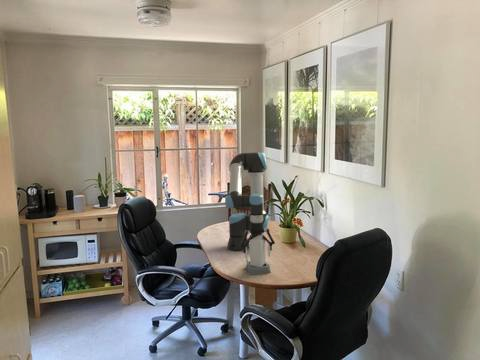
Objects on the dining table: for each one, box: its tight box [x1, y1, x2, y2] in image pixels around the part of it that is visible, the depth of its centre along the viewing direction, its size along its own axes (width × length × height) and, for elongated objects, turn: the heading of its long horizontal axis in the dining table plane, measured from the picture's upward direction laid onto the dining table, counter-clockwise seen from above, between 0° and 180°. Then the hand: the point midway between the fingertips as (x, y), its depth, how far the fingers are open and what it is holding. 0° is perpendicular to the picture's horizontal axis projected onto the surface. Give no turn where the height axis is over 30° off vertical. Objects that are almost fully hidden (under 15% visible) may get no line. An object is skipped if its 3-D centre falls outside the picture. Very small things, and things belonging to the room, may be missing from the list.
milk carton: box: [249, 233, 267, 267], centre depth 221 cm, size 7×7×19 cm
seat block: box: [245, 258, 272, 276], centre depth 223 cm, size 12×12×5 cm
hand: (257, 257), depth 222 cm, fingers open, 13 cm apart
